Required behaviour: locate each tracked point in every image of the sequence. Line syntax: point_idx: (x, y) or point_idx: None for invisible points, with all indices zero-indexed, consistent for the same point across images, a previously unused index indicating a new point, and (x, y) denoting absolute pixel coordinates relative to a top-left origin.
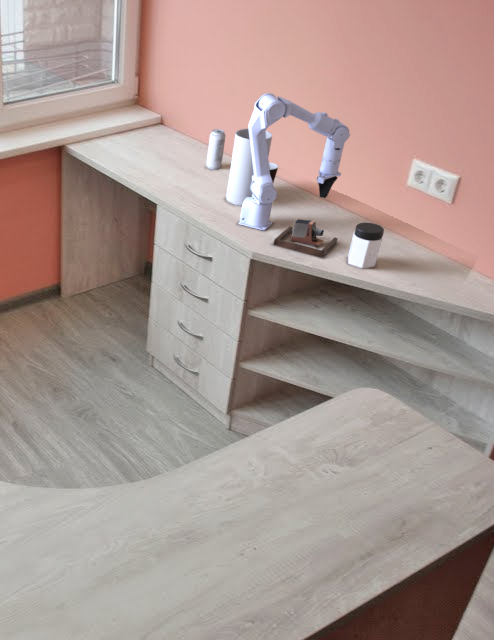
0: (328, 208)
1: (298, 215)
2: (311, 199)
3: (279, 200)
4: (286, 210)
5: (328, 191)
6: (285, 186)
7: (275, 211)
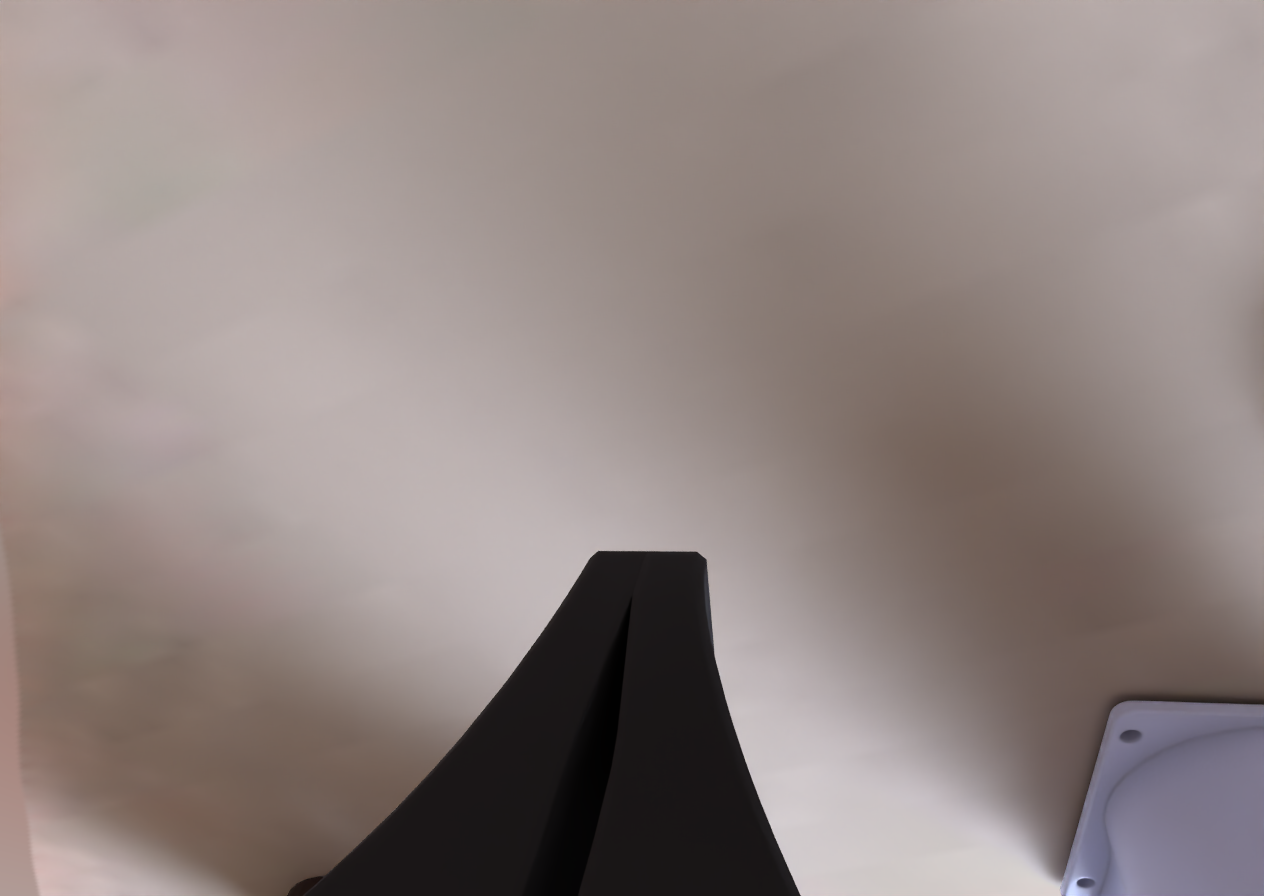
0: (127, 362)
1: None
2: (105, 595)
3: None
4: None
5: (664, 693)
6: (96, 827)
7: None
